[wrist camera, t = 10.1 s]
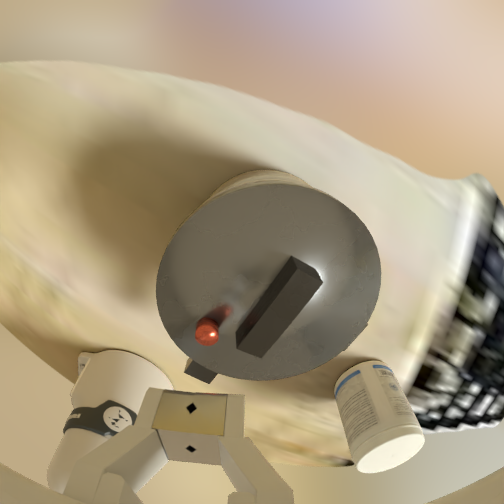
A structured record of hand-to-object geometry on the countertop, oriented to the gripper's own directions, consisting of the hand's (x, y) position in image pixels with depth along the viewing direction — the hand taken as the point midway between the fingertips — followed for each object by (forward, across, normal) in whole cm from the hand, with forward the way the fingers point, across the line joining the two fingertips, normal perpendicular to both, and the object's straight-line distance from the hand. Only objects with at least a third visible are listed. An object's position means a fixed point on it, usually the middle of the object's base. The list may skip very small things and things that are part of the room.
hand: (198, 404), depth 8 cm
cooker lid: (+13, -3, +3) cm, 14 cm away
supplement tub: (+25, -19, +25) cm, 40 cm away
